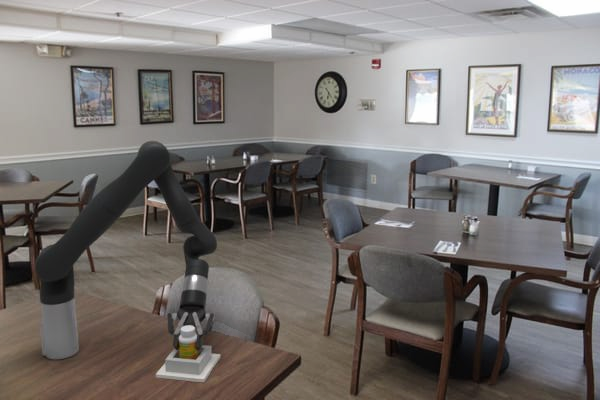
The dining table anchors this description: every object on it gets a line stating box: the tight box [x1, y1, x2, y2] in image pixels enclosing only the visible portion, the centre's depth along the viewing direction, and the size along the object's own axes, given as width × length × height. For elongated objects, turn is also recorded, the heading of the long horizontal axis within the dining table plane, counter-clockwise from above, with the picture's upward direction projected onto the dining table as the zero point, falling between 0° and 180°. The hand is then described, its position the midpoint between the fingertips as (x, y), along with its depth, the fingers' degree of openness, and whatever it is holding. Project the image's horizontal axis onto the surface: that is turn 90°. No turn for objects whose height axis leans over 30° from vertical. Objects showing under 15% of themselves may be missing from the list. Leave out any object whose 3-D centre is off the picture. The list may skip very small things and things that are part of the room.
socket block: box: [155, 344, 221, 383], centre depth 146 cm, size 14×14×4 cm
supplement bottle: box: [179, 325, 198, 360], centre depth 145 cm, size 5×5×10 cm
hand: (187, 349), depth 143 cm, fingers closed on supplement bottle, 5 cm apart
